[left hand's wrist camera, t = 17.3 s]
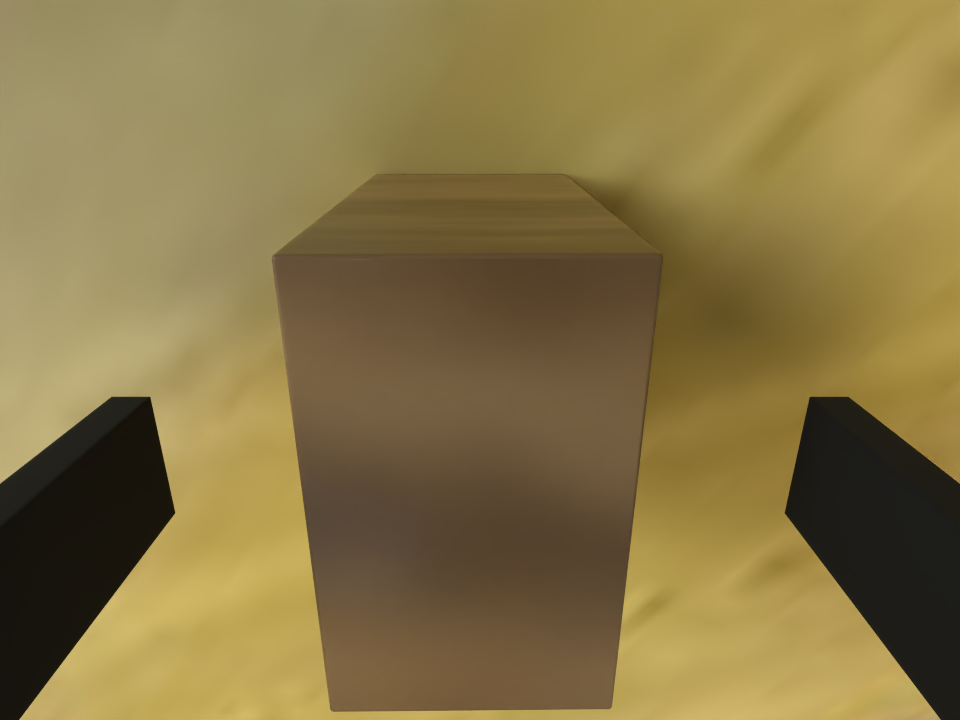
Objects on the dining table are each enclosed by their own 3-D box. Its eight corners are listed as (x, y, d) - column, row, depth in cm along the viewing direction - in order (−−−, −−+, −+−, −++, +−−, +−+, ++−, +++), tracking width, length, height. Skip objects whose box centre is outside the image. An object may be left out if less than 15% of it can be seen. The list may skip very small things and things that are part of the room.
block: (374, 174, 18) (270, 254, 9) (566, 173, 18) (664, 253, 9) (391, 446, 21) (329, 713, 12) (552, 446, 21) (612, 710, 12)
